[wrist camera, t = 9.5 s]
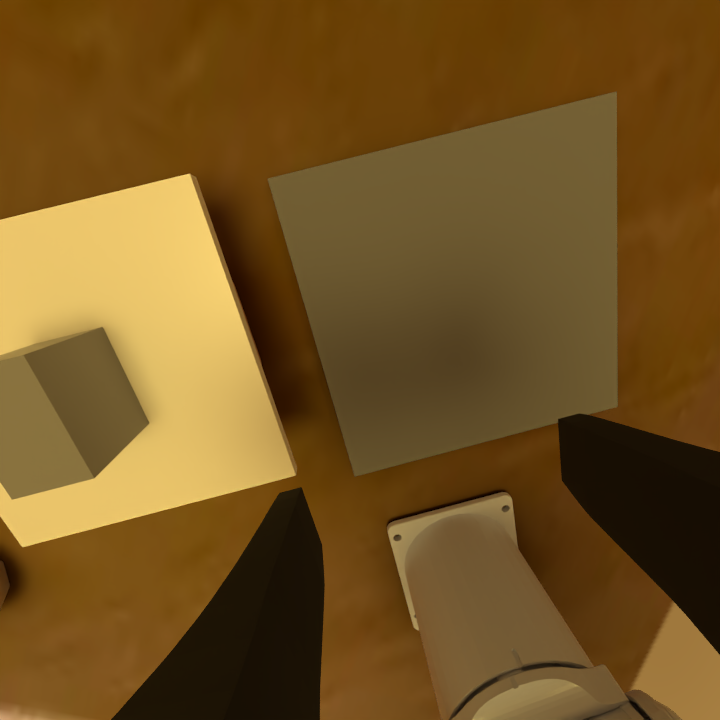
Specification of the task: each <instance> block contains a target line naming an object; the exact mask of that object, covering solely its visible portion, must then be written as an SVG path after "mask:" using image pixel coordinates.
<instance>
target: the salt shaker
mask: <svg viewBox="0 0 720 720" xmlns="http://www.w3.org/2000/svg"><path fill="white" fill-rule="evenodd" d="M9 587H10V583H9V580H8V576H7V573H6V569H5V566H4V562H3V561H1V560H0V610H1V607H2V605H3V602H4V600H5V597H6V595H7V592H8V590H9Z"/></svg>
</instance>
